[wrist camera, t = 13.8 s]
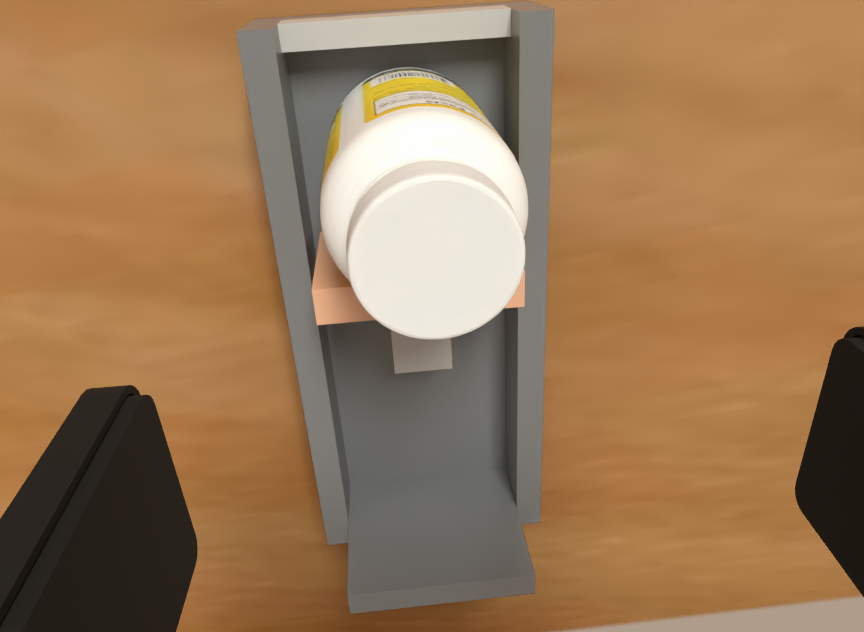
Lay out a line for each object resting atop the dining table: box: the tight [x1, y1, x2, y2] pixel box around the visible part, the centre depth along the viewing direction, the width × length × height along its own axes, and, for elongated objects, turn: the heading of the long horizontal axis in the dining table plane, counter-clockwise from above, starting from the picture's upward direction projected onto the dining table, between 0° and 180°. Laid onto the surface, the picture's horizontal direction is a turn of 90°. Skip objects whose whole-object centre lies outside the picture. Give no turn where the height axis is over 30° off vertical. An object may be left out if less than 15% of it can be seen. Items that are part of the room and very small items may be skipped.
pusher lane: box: [236, 1, 554, 614], centre depth 24 cm, size 20×9×7 cm, turn 3°
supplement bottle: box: [320, 67, 528, 339], centre depth 19 cm, size 5×5×10 cm
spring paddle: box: [312, 232, 525, 374], centre depth 24 cm, size 4×6×5 cm, turn 93°
